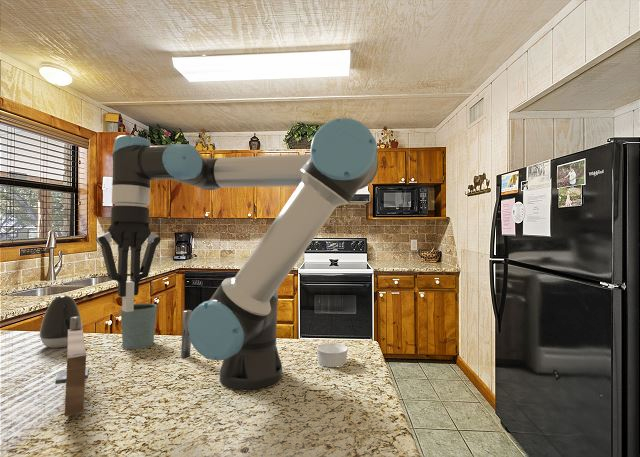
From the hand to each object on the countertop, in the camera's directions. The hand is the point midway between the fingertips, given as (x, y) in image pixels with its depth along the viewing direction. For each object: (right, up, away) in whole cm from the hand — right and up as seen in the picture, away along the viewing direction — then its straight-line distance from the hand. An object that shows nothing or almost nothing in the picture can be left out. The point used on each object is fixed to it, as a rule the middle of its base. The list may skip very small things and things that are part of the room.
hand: (127, 310), depth 73 cm
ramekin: (+47, -20, +18) cm, 54 cm away
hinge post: (-17, -17, +6) cm, 25 cm away
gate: (-9, -16, -4) cm, 19 cm away
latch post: (+5, -18, +20) cm, 27 cm away
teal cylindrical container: (-14, -18, +29) cm, 37 cm away
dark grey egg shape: (-36, -18, +27) cm, 48 cm away
